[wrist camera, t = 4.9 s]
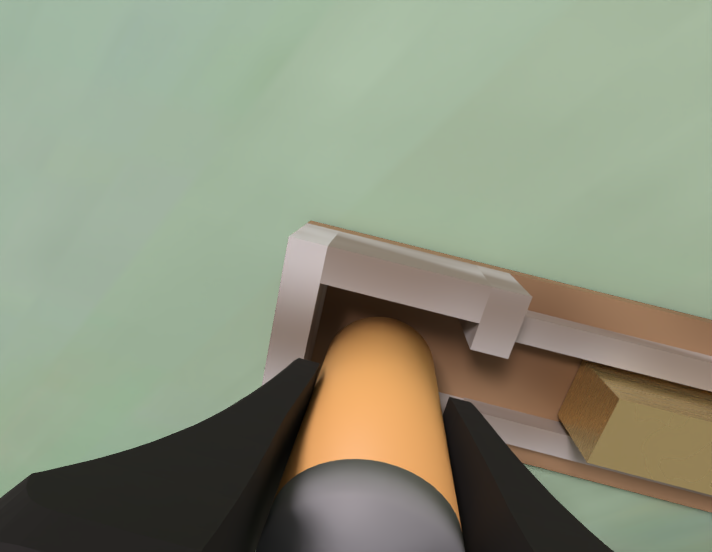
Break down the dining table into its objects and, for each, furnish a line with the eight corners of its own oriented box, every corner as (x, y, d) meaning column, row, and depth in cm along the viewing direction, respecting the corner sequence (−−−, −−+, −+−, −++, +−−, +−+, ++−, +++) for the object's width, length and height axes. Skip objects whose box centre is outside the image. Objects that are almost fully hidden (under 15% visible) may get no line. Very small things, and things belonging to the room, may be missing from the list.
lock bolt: (764, 468, 15) (833, 527, 13) (557, 414, 15) (587, 462, 13) (801, 414, 14) (882, 466, 12) (583, 359, 14) (619, 398, 12)
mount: (765, 517, 16) (846, 596, 13) (277, 389, 17) (252, 438, 14) (877, 361, 14) (1005, 415, 11) (310, 220, 15) (288, 236, 12)
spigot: (418, 422, 14) (436, 677, 7) (317, 398, 14) (241, 626, 7) (446, 330, 13) (500, 531, 6) (336, 305, 13) (268, 473, 6)
